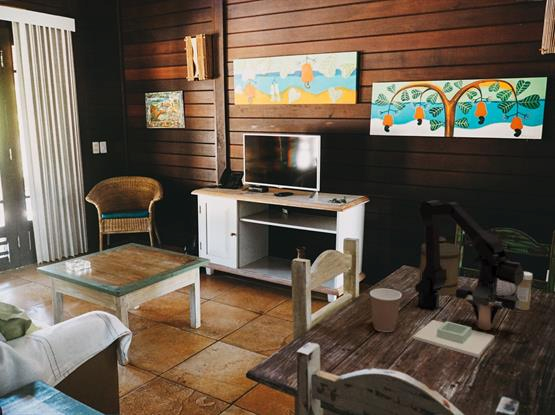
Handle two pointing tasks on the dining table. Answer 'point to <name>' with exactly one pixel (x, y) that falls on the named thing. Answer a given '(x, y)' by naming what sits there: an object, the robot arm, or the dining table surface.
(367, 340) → the dining table surface
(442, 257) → the wooden container
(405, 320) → the dining table surface
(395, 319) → the coffee cup
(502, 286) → the sea urchin shell
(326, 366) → the dining table surface
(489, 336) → the socket board
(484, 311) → the terracotta peg
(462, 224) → the robot arm
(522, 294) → the sprinkles bottle
